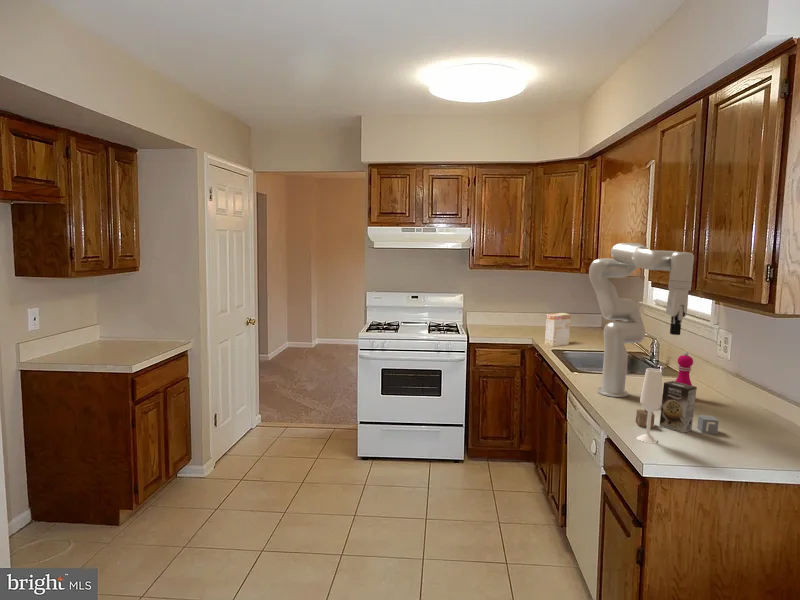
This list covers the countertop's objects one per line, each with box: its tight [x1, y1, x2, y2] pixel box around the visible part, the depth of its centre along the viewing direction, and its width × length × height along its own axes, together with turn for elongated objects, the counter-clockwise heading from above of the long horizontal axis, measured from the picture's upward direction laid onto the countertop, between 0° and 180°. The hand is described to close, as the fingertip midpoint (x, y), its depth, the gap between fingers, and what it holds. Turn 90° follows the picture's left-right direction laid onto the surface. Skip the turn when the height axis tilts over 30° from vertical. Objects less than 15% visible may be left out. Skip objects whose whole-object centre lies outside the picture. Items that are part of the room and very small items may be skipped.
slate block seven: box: [696, 414, 720, 435], centre depth 198 cm, size 5×5×5 cm
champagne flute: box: [636, 367, 663, 444], centre depth 186 cm, size 7×7×24 cm
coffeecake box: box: [544, 312, 572, 347], centre depth 347 cm, size 15×7×20 cm, turn 123°
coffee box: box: [659, 380, 698, 434], centre depth 200 cm, size 9×6×16 cm
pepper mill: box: [675, 351, 694, 386], centre depth 240 cm, size 7×7×20 cm
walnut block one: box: [635, 408, 655, 429], centre depth 202 cm, size 5×5×6 cm
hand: (674, 334), depth 209 cm, fingers closed
